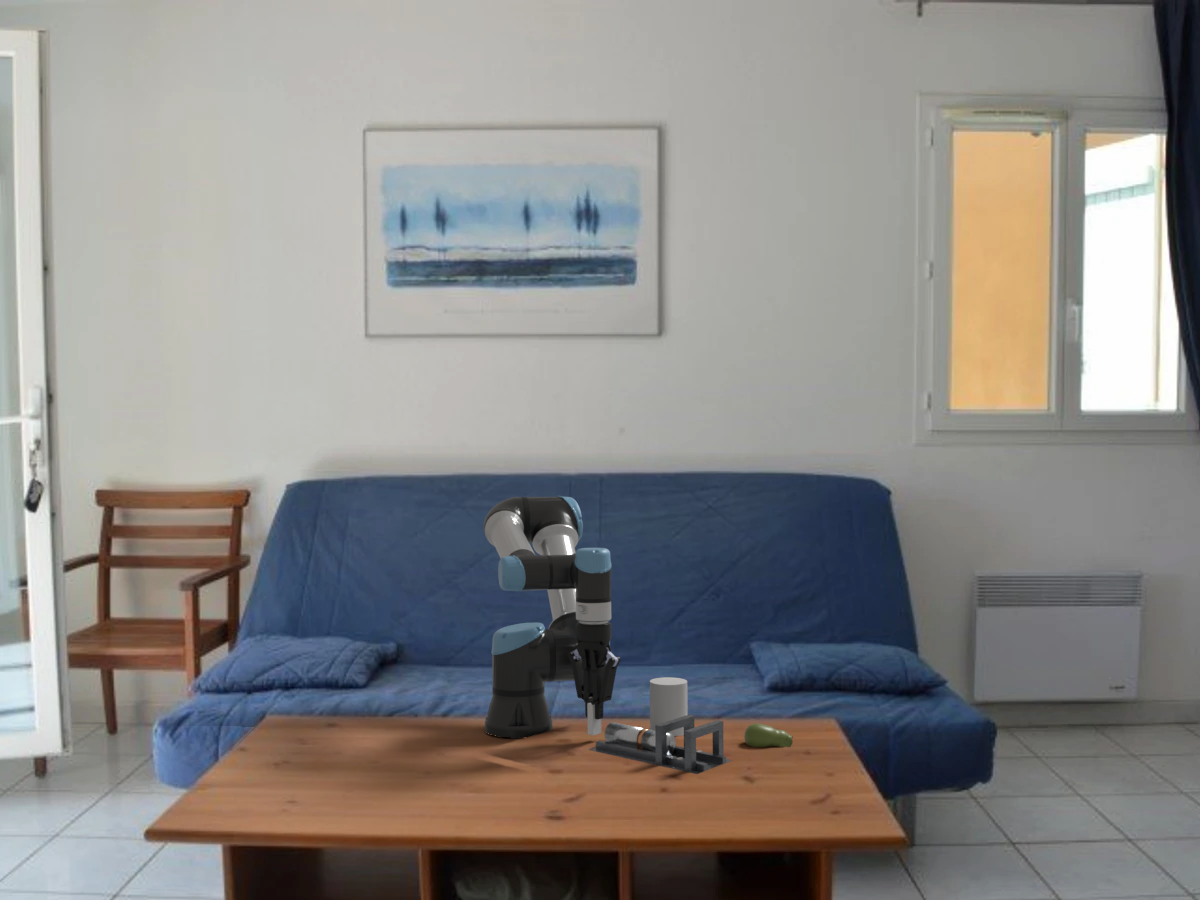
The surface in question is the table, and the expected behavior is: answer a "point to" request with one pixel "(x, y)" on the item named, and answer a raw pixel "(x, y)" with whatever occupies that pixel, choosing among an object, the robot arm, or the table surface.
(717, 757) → the collar rail
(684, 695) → the white cylinder
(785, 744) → the pear
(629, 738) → the tube
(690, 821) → the table surface
